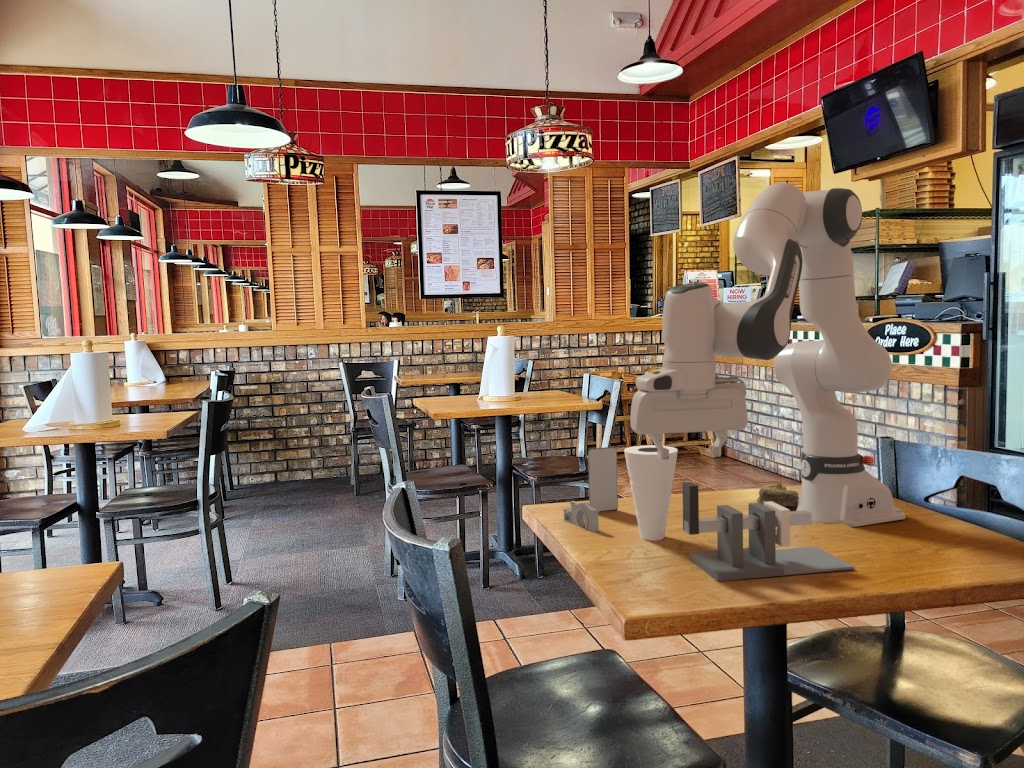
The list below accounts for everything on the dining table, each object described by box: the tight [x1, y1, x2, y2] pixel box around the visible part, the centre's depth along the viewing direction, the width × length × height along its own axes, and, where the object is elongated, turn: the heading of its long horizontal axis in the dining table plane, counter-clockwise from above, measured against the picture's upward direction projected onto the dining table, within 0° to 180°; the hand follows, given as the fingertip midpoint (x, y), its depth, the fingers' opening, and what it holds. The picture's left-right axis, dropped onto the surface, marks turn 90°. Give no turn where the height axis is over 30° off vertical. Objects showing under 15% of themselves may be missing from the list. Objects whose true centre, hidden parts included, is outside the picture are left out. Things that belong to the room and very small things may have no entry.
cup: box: [623, 444, 678, 542], centre depth 152 cm, size 11×11×18 cm
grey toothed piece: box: [562, 500, 601, 533], centre depth 161 cm, size 12×2×6 cm, turn 29°
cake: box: [756, 480, 800, 507], centre depth 176 cm, size 10×10×5 cm
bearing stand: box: [689, 502, 785, 582], centre depth 132 cm, size 12×12×10 cm
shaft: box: [682, 481, 813, 536], centre depth 132 cm, size 23×3×8 cm, turn 99°
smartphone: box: [587, 446, 619, 513], centre depth 173 cm, size 7×1×15 cm, turn 106°
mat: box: [776, 546, 855, 576], centre depth 135 cm, size 13×12×1 cm
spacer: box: [763, 501, 791, 548], centre depth 133 cm, size 2×6×6 cm, turn 9°
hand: (689, 457), depth 130 cm, fingers open, 8 cm apart
